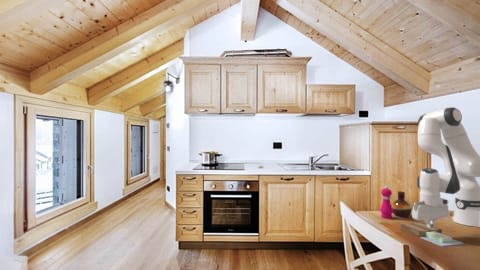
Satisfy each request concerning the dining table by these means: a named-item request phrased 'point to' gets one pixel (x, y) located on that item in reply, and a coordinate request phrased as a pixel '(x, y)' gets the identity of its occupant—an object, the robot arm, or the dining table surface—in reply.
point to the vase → (401, 206)
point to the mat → (442, 243)
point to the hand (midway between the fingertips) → (430, 227)
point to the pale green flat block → (438, 236)
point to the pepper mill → (386, 204)
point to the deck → (418, 229)
